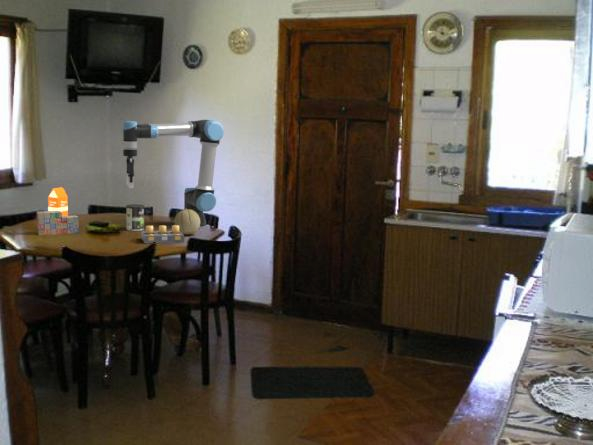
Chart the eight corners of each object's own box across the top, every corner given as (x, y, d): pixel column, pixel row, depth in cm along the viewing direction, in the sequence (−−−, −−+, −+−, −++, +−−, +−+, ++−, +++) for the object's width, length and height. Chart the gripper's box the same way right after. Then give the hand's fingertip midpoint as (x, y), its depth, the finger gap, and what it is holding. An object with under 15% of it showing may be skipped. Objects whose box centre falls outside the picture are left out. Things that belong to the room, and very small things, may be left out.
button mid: (165, 234, 388) (165, 225, 388) (166, 235, 385) (166, 226, 384) (158, 234, 387) (158, 225, 386) (159, 235, 383) (159, 226, 382)
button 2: (178, 234, 391) (178, 225, 390) (179, 235, 387) (179, 226, 386) (171, 234, 389) (171, 225, 388) (172, 235, 386) (172, 226, 385)
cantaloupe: (188, 238, 396) (189, 211, 394) (168, 234, 404) (169, 208, 401) (205, 234, 409) (206, 208, 406) (186, 231, 416) (186, 205, 414)
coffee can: (146, 228, 420) (147, 204, 417) (139, 231, 410) (139, 207, 408) (130, 227, 422) (130, 203, 419) (123, 230, 412) (123, 206, 410)
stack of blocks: (76, 231, 403) (76, 209, 401) (78, 233, 397) (78, 211, 395) (36, 233, 393) (36, 211, 391) (38, 235, 388) (38, 212, 386)
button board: (179, 237, 396) (179, 230, 396) (184, 242, 383) (184, 234, 382) (141, 238, 389) (141, 230, 389) (144, 243, 376) (144, 235, 376)
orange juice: (48, 220, 433) (47, 188, 429) (58, 218, 441) (57, 186, 438) (58, 221, 430) (58, 189, 427) (68, 220, 438) (67, 187, 435)
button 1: (152, 234, 386) (152, 225, 385) (153, 235, 382) (153, 226, 381) (145, 234, 385) (145, 225, 384) (146, 236, 381) (146, 226, 380)
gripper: (121, 147, 408) (121, 184, 412) (124, 150, 385) (124, 189, 388) (135, 147, 410) (135, 184, 414) (138, 150, 387) (138, 189, 390)
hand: (130, 186), depth 401 cm, fingers open, 13 cm apart
